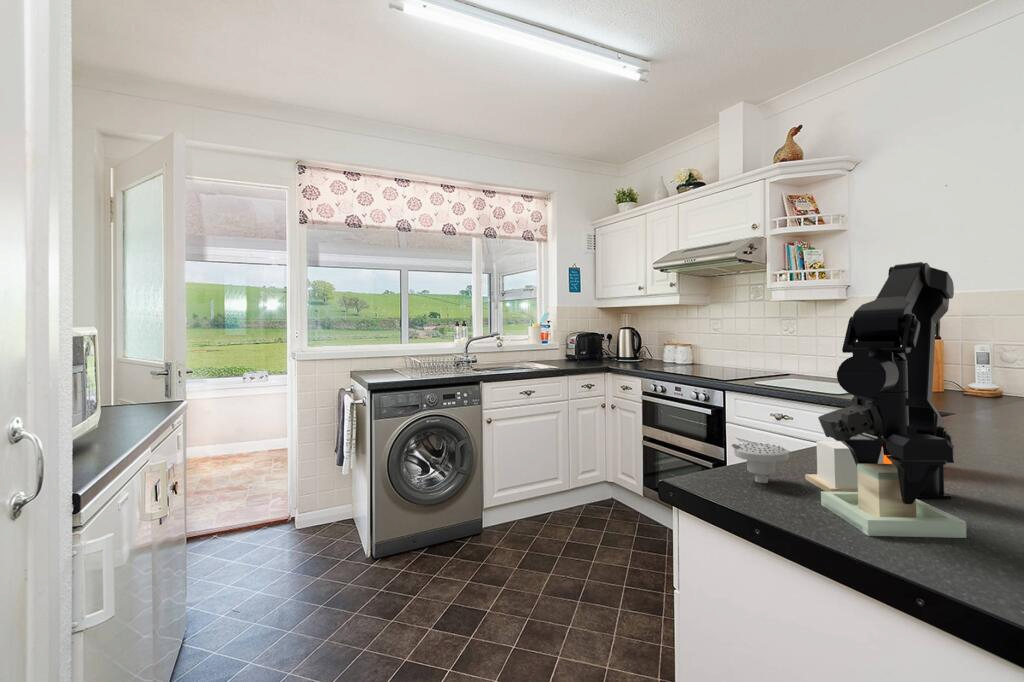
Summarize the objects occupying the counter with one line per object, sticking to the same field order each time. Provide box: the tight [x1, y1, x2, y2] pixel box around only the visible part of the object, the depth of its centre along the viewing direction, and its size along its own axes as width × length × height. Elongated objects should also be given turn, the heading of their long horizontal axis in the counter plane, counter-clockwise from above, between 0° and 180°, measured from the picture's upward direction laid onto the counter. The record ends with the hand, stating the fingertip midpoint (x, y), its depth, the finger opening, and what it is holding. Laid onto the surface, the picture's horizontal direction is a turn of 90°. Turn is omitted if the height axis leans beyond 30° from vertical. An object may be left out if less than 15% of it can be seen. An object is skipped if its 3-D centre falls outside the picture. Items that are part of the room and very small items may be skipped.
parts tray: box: [820, 490, 967, 539], centre depth 71 cm, size 12×12×2 cm
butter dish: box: [804, 440, 884, 492], centre depth 87 cm, size 10×9×8 cm
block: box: [857, 464, 917, 518], centre depth 71 cm, size 5×5×7 cm
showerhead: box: [730, 442, 790, 484], centre depth 91 cm, size 9×7×10 cm
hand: (886, 493), depth 71 cm, fingers open, 9 cm apart
